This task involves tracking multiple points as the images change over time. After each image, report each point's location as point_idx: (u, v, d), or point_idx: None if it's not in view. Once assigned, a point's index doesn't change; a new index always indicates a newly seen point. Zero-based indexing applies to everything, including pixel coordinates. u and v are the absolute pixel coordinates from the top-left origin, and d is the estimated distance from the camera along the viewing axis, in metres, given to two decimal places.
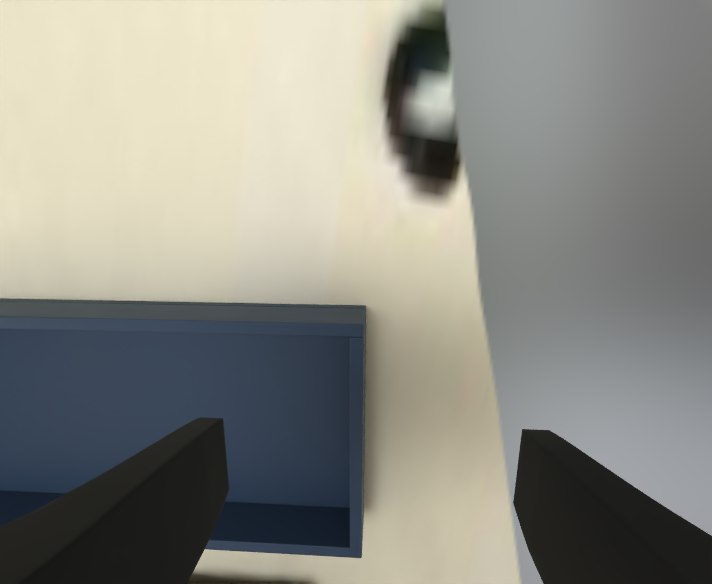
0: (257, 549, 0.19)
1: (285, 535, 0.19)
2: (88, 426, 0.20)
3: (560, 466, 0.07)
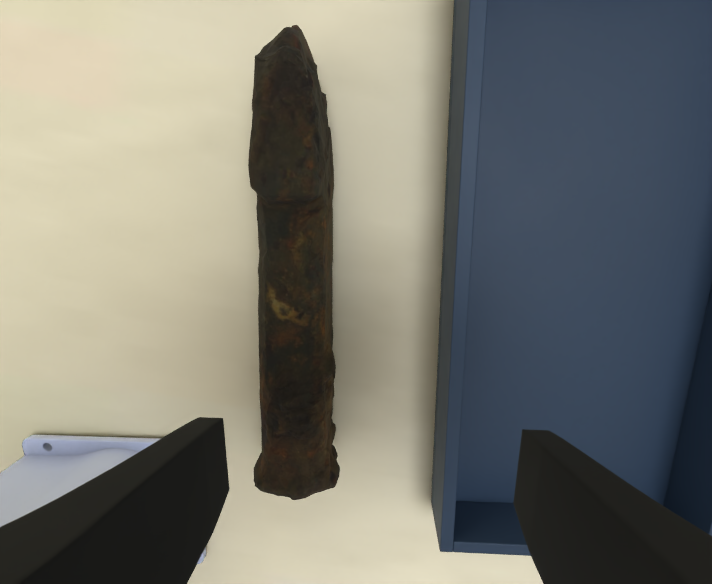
0: (450, 454, 0.16)
1: None
2: (565, 216, 0.16)
3: (560, 466, 0.07)
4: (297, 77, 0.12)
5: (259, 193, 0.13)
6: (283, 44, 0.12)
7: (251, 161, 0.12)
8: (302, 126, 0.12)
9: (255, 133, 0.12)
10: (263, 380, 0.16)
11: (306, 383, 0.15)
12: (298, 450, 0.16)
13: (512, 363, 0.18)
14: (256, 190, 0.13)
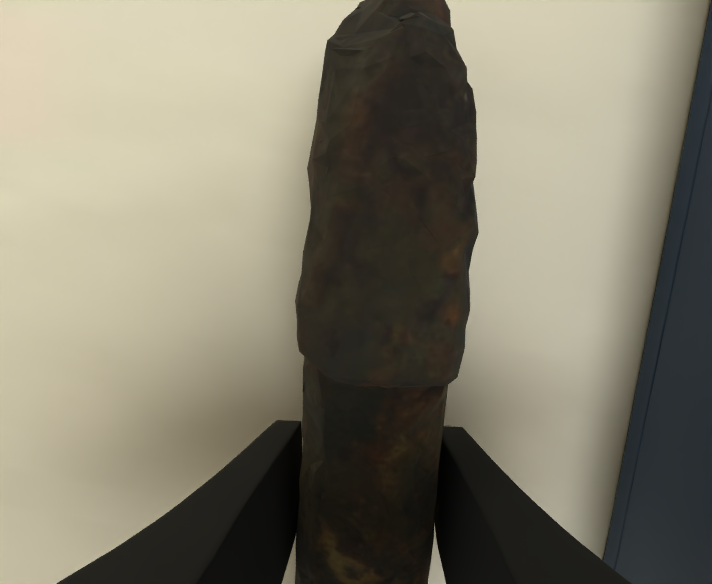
0: None
1: None
2: None
3: (453, 461, 0.07)
4: (444, 100, 0.04)
5: (319, 368, 0.05)
6: (408, 9, 0.04)
7: (305, 303, 0.05)
8: (443, 225, 0.05)
9: (319, 239, 0.05)
10: None
11: None
12: None
13: None
14: (312, 361, 0.05)
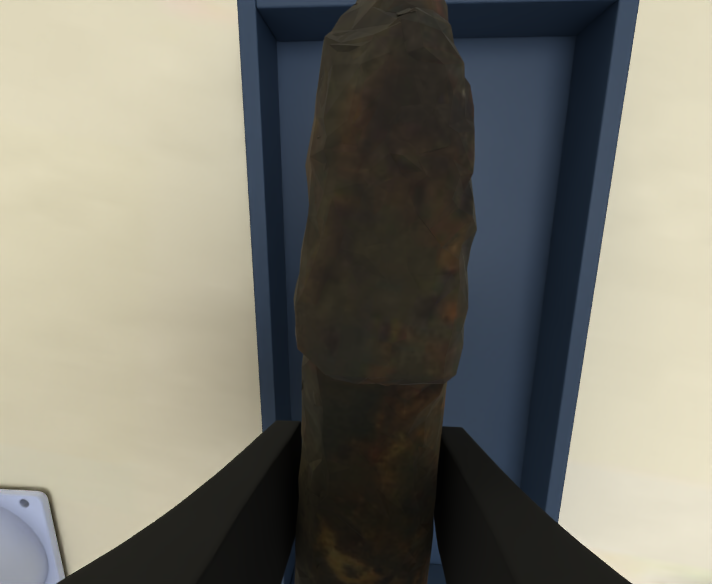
0: None
1: None
2: None
3: (453, 462, 0.07)
4: (442, 96, 0.04)
5: (317, 366, 0.05)
6: (406, 4, 0.04)
7: (303, 300, 0.05)
8: (441, 222, 0.05)
9: (317, 236, 0.05)
10: None
11: None
12: None
13: None
14: (310, 359, 0.05)
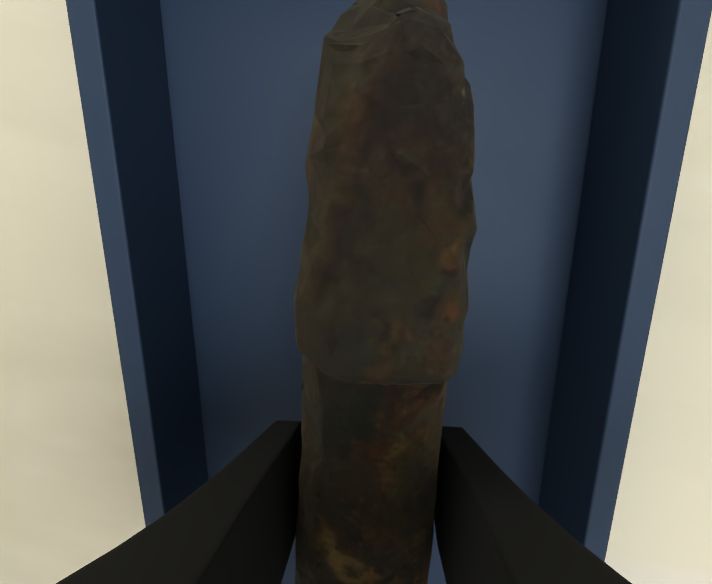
0: None
1: None
2: None
3: (453, 461, 0.07)
4: (442, 95, 0.04)
5: (317, 366, 0.05)
6: (406, 4, 0.04)
7: (303, 300, 0.05)
8: (441, 221, 0.05)
9: (317, 235, 0.05)
10: None
11: None
12: None
13: None
14: (310, 359, 0.05)
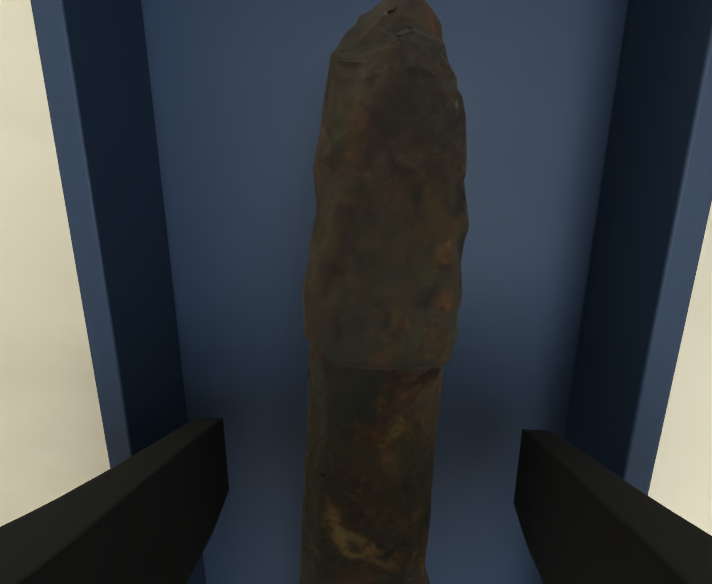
0: None
1: None
2: None
3: (560, 466, 0.07)
4: (436, 107, 0.05)
5: (324, 352, 0.06)
6: (404, 25, 0.05)
7: (311, 292, 0.05)
8: (436, 220, 0.05)
9: (324, 233, 0.05)
10: None
11: None
12: None
13: (285, 529, 0.12)
14: (317, 346, 0.06)
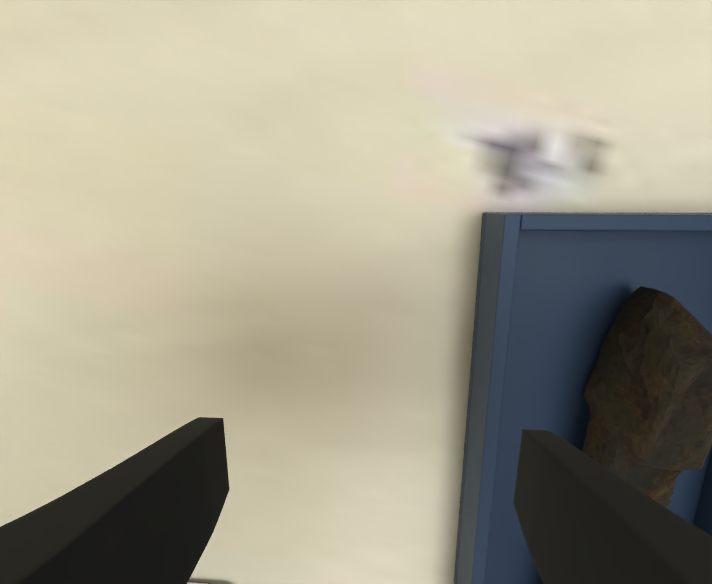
0: None
1: None
2: (575, 421, 0.18)
3: (560, 466, 0.07)
4: None
5: (647, 462, 0.14)
6: (708, 349, 0.12)
7: (652, 440, 0.13)
8: (710, 415, 0.13)
9: (663, 419, 0.13)
10: None
11: None
12: None
13: None
14: (644, 459, 0.14)
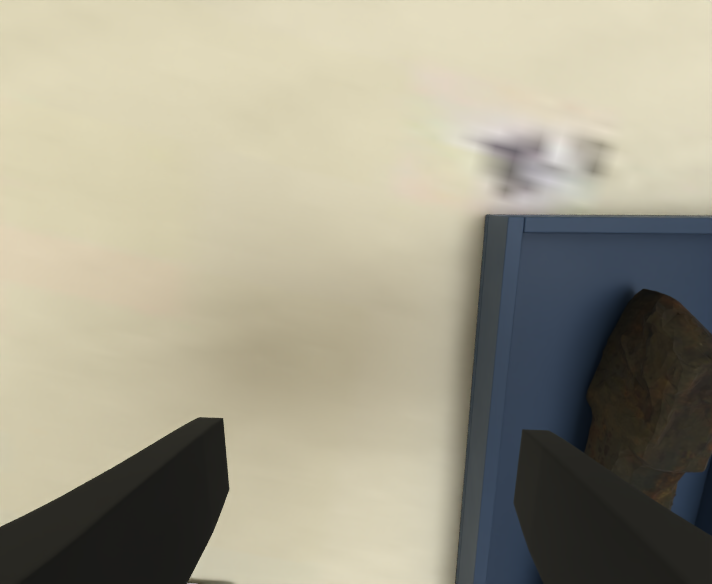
0: None
1: None
2: (577, 423, 0.18)
3: (560, 466, 0.07)
4: None
5: (649, 464, 0.14)
6: (711, 352, 0.12)
7: (654, 443, 0.13)
8: None
9: (666, 422, 0.13)
10: None
11: None
12: None
13: None
14: (647, 462, 0.14)
